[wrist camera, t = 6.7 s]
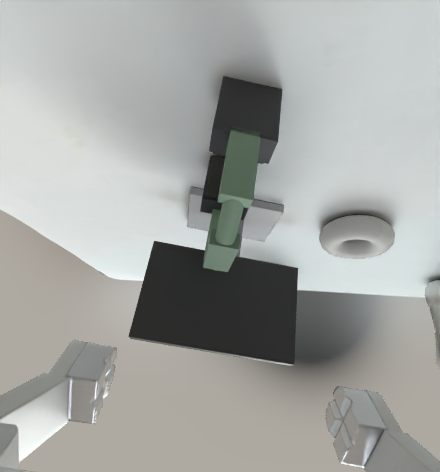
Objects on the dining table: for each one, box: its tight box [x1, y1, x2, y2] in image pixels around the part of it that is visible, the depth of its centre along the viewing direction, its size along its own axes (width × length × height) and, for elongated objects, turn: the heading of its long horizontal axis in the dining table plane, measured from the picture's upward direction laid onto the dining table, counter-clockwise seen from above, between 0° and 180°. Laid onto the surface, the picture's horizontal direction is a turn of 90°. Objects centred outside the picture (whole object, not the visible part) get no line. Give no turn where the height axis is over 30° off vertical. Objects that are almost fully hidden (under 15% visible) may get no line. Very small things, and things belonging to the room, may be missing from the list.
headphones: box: [200, 77, 282, 272], centre depth 29 cm, size 13×5×14 cm, turn 172°
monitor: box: [129, 187, 298, 366], centre depth 42 cm, size 10×20×20 cm, turn 82°
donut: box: [319, 215, 395, 259], centre depth 44 cm, size 10×4×10 cm
